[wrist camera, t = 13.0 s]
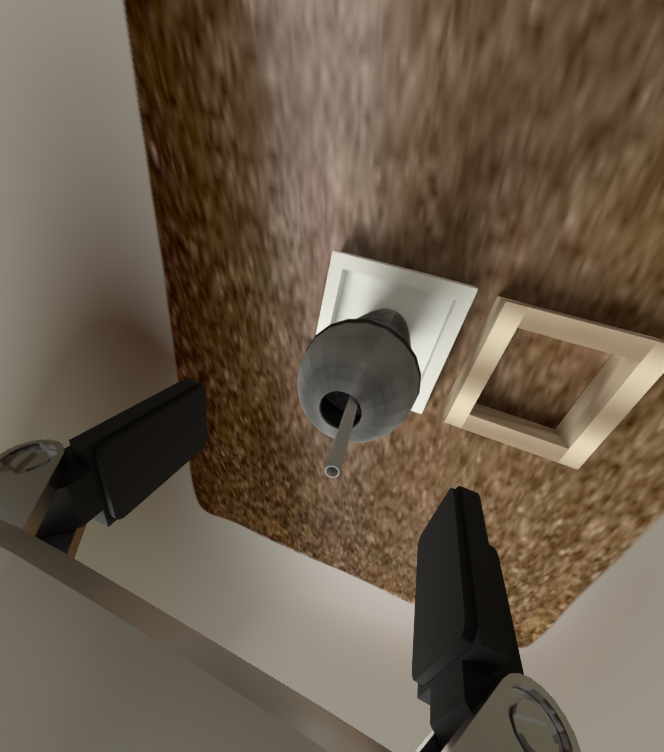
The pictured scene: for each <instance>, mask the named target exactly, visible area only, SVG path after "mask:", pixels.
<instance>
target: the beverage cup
mask: <svg viewBox="0 0 664 752" xmlns="http://www.w3.org/2000/svg"><path fill="white" fill-rule="evenodd" d="M420 382H421V372H420V368H419V364H418V360H417V357H416V355H415V353H414V352H413V350H412V349H411V341H410V333H409V329H408V325H407V322H406V321H405V319H404V318H403V316H402V315H401V314H399V313H398V312H397V311H395V310H392V309H386V308H381V309H378V310H374V311H371V312H369V313H367V314H365V315H363V316H361V317H359V318H357V319H346V320H343V321H339V322H336V323H333V324H330V325H329V326H327V327H326V328H325V329H323V330H322V331H321V332H319V333H318V334H317V335H316V336H315V337H314V339H313V340H312V342H311V343H310V345H309V346H308V348H307V350H306V353H305V354H304V356H303V358H302V360H301V363H300V368H299V372H298V376H297V386H298V396H299V400H300V402H301V405H302V407H303V410H304V412H305V414H306V415H307V416H308V418H309V419H310V420H311V421H312V423H313V424H314V425H315V426H316V427H317V428H318V429H320V430H321V431H322V432H323V433H325V434H326V435H328V436H330V437H333V438H335V440H334V443H333V446H332V449H331V452H330V455H329V458H328V461H327V464H326V466H325V474H326V475H327V476H328V477H330V478H336V477H338V476H339V475H340V471H341V468H342V464H343V460H344V456H345V453H346V449H347V445H348V442H353V443H360V442H369V441H373V440H376V439H378V438H380V437H383V436H385V435H387V434H389V433H391V432H392V431H393V430H394V429H395V428H396V427H397V426H398V425H399V424H401V423H402V422H403V421H404V420H405V418H406V417H407V415H408V413H409V411H410V410H411V409H412V407H413V405H414V403H415V401H416V399H417V397H418V395H419V392H420Z"/></svg>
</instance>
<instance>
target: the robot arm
mask: <svg viewBox="0 0 664 752" xmlns="http://www.w3.org/2000/svg"><path fill="white" fill-rule="evenodd" d="M206 440H207V436H206V390H205V389H204V387H203V384H201V383H199V382H197V381H194V380H192V379H189V378H186V379H184V380H182V381H180V382H178V383H176V384H174V385H172V386H170V387H169V388H167V389H165V390H163V391H161V392H159V393H157V394H155V395H153V396H151V397H150V398H148V399H146V400H144V401H142V402H140V403H138V404H136V405H134V406H133V407H131V408H129V409H127V410H125V411H123V412H121V413H119V414H118V415H116V416H114V417H112V418H110V419H108V420H106V421H104V422H102V423H101V424H99V425H97V426H95V427H93V428H91V429H89V430H87V431H85V432H83V433H82V434H80V435H78V436H76V437H74V438H72V439H70V440H69V442H70V446H68V447H67V448H64V446H63V444H61V443H60V442H59V441H55V440H51V439H50V440H49V439H43V440H42V439H40V440H34V441H29V442H25V443H22V444H19V445H16V446H14V447H12V448H9V449H7V450H6V451H4V452H3V453H1V454H0V752H391V751H390V750H388V749H387V748H385V747H384V746H382V745H381V744H379V743H377V742H376V741H374V740H373V739H371V738H370V737H368V736H366V735H365V734H363V733H362V732H360V731H359V730H357V729H355V728H354V727H352V726H351V725H349V724H347V723H346V722H344V721H343V720H341V719H340V718H338V717H336V716H335V715H333V714H332V713H330V712H329V711H327V710H325V709H324V708H322V707H321V706H319V705H317V704H316V703H314V702H312V701H311V700H309V699H307V698H306V697H304V696H302V695H301V694H299V693H298V692H296V691H294V690H292V689H291V688H289V687H288V686H286V685H284V684H282V683H281V682H279V681H278V680H276V679H274V678H273V677H271V676H269V675H268V674H266V673H264V672H263V671H261V670H259V669H258V668H256V667H255V666H253V665H251V664H250V663H248V662H246V661H245V660H243V659H241V658H240V657H238V656H236V655H235V654H233V653H232V652H230V651H228V650H226V649H225V648H223V647H221V646H220V645H218V644H217V643H215V642H213V641H212V640H210V639H208V638H207V637H205V636H203V635H202V634H200V633H198V632H197V631H195V630H193V629H191V628H190V627H188V626H187V625H185V624H183V623H181V622H180V621H178V620H177V619H175V618H173V617H171V616H170V615H168V614H166V613H165V612H163V611H161V610H160V609H158V608H156V607H155V606H153V605H151V604H150V603H148V602H146V601H145V600H143V599H141V598H140V597H138V596H136V595H135V594H133V593H131V592H129V591H128V590H126V589H125V588H123V587H121V586H119V585H118V584H116V583H114V582H113V581H111V580H109V579H108V578H106V577H104V576H103V575H101V574H99V573H97V572H96V571H94V570H92V569H91V568H89V567H87V566H86V565H84V564H82V563H80V562H79V561H77V560H75V559H74V557H75V555H76V552H77V549H78V546H79V544H80V541H81V538H82V535H83V532H84V530H85V527H86V524H87V523H88V522H89V521H90V520H91V519H93V518H94V517H95V519H96V520H97V521H99V522H100V523H102V524H104V525H106V526H108V527H109V526H110V525H111V524H112V523H113V522H115V521H116V520H117V519H122V518H124V517H125V516H126V515H128V513H130V512H131V511H132V510H133V509H134V508H135V507H137V506H138V505H139V504H140V503H141V502H142V501H144V500H145V499H146V498H147V497H148V496H149V495H150V494H151V493H152V492H154V491H155V490H156V489H157V488H158V487H160V486H161V485H162V484H163V483H164V482H165V481H166V480H168V479H169V478H170V477H171V476H172V475H173V474H174V473H175V472H177V471H178V470H179V469H180V468H181V467H182V466H184V464H186V463H187V462H188V461H189V460H190V459H192V458H193V457H194V456H195V455H196V454H197V453H198V452H200V451H201V450H202V449H203V448H204V446H205V444H206ZM412 676H413V680H414V681H416V682H418V699H420V700H422V701H424V702H426V703H427V704H429V705H430V725H431V727H432V729H433V730H432V731H431V732H430V734H429V735H428V736H427V737H426V739H425V740H424V741H423V742H422V743H421V745H420V746H419V747H418V748H417V750H416V751H415V752H581V750H580V748H579V745H578V742H577V739H576V736H575V733H574V732H573V730H572V728H571V726H570V724H569V722H568V720H567V718H566V716H565V715H564V713H563V712H562V710H561V709H560V708H559V706H558V704H557V703H556V702H555V700H554V699H553V698H552V697H551V696H550V695H549V694H548V692H546V690H545V689H544V688H543V687H542V686H541V685H539V684H538V683H536V682H535V681H534V680H533V679H531V678H530V677H527V676H524V673H523V668H522V663H521V659H520V654H519V649H518V645H517V640H516V635H515V631H514V626H513V621H512V617H511V612H510V607H509V603H508V598H507V594H506V589H505V584H504V580H503V575H502V570H501V566H500V561H499V557H498V554H497V551H496V550H495V548H494V547H493V546H491V545H489V542H488V537H487V532H486V526H485V521H484V516H483V511H482V506H481V500H480V496H479V494H478V493H476V492H474V491H471V490H469V489H466V488H464V487H461V486H458V487H457V488H456V489H454V488H450V489H449V491H448V492H447V494H446V496H445V497H444V499H443V500H442V502H441V504H440V505H439V507H438V509H437V510H436V512H435V513H434V515H433V517H432V518H431V520H430V521H429V523H428V525H427V526H426V528H425V529H424V531H423V533H422V534H421V536H420V539H419V542H418V554H417V575H416V596H415V618H414V638H413V659H412Z"/></svg>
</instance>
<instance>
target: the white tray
mask: <svg viewBox="0 0 664 752" xmlns="http://www.w3.org/2000/svg"><path fill="white" fill-rule="evenodd" d="M477 291H478V288H476V287H475V286H473V285H469V284H465V283H462V282H458V281H454V280H450V279H446V278H442V277H439V276H435V275H431V274H427V273H423V272H419V271H416V270H412V269H408V268H404V267H400V266H396V265H393V264H389V263H385V262H381V261H377V260H373V259H370V258H366V257H362V256H358V255H354V254H350V253H347V252H343V251H333V252H332V257H331V262H330V267H329V272H328V277H327V282H326V287H325V292H324V297H323V302H322V307H321V312H320V317H319V322H318V327H317V332H316V335H317V334H318V333H319V332H321V331H322V330H323V329H325V328H326V327H327V326H329V325H330V324H333V323H336V322H339V321H343V320H346V319H357V318H359V317H361V316H363V315H365V314H367V313H369V312H371V311H374V310H378V309H381V308H386V309H392V310H395V311H397V312H398V313H399V314H401V315H402V316H403V318H404V319H405V321H406V322H407V325H408V329H409V333H410V341H411V349H412V350H413V352H414V353H415V355H416V357H417V360H418V364H419V368H420V372H421V382H420V392H419V395H418V397H417V399H416V401H415V403H414V405H413V407H412V409H411V411H414V412H417V413H420V414H422V412H423V410H424V407H425V405H426V403H427V401H428V399H429V396H430V394H431V392H432V390H433V388H434V385H435V383H436V381H437V379H438V377H439V374H440V372H441V370H442V368H443V366H444V364H445V361H446V359H447V357H448V355H449V353H450V350H451V348H452V346H453V344H454V342H455V339H456V337H457V335H458V333H459V331H460V328H461V326H462V324H463V322H464V320H465V317H466V315H467V313H468V311H469V309H470V306H471V304H472V302H473V300H474V298H475V295H476V293H477Z"/></svg>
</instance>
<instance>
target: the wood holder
mask: <svg viewBox="0 0 664 752" xmlns="http://www.w3.org/2000/svg"><path fill="white" fill-rule="evenodd" d="M517 328H521V329H524V330H528V331H531V332H535V333H539V334H542V335H546V336H549V337H553V338H556V339H560V340H564V341H567V342H571V343H574V344H578V345H581V346H585V347H589V348H592V349H596V350H599V351H603V352H606V353H610V354H612V355H611V357H610V358H609V359H608V360H607V362H606V363H605V364H604V366H603V367H602V368H601V370H600V371H599V372H598V374H597V375H596V376H595V378H594V379H593V380H592V382H591V383H590V384H589V385H588V387H587V388H586V389H585V391H584V392H583V393H582V395H581V396H580V397H579V399H578V400H577V401H576V403H575V404H574V405H573V406H572V408H571V409H570V410H569V412H568V413H567V414H566V416H565V417H564V418H563V420H562V421H561V422H560V424H559V425H558V426H557V427H556V429H552V428H549V427H546V426H543V425H540V424H537V423H534V422H531V421H528V420H525V419H522V418H519V417H516V416H513V415H510V414H507V413H504V412H502V411H499V410H496V409H493V408H490V407H487V406H484V405H481V404H478V403H476V401H477V399H478V397H479V396H480V394H481V392H482V390H483V388H484V387H485V385H486V383H487V381H488V380H489V378H490V376H491V374H492V372H493V371H494V369H495V367H496V365H497V363H498V362H499V360H500V358H501V356H502V354H503V353H504V351H505V349H506V347H507V345H508V344H509V342H510V340H511V338H512V336H513V335H514V333H515V331H516V329H517ZM663 373H664V341H663V340H660V339H658V338H655V337H652V336H648V335H644V334H640V333H637V332H633V331H629V330H625V329H621V328H618V327H614V326H610V325H606V324H602V323H599V322H595V321H591V320H587V319H583V318H580V317H576V316H572V315H568V314H564V313H561V312H557V311H553V310H549V309H545V308H542V307H538V306H534V305H530V304H526V303H523V302H519V301H515V300H511V299H507V298H504V297H500V296H497V298H496V300H495V302H494V304H493V306H492V308H491V310H490V312H489V314H488V316H487V318H486V320H485V322H484V324H483V326H482V328H481V330H480V332H479V334H478V336H477V339H476V341H475V343H474V345H473V347H472V349H471V351H470V353H469V355H468V357H467V359H466V361H465V363H464V365H463V367H462V369H461V371H460V373H459V375H458V377H457V379H456V381H455V383H454V385H453V387H452V389H451V391H450V393H449V395H448V397H447V399H446V401H445V403H444V405H443V413H444V422H446V423H448V424H451V425H454V426H457V427H460V428H462V429H465V430H468V431H471V432H474V433H476V434H479V435H482V436H485V437H488V438H491V439H493V440H496V441H499V442H502V443H505V444H507V445H510V446H513V447H516V448H519V449H521V450H524V451H527V452H530V453H533V454H536V455H538V456H541V457H544V458H547V459H550V460H552V461H555V462H558V463H561V464H564V465H566V466H569V467H572V468H575V469H579V467H580V466H581V465H582V464H583V463H584V462H585V461H586V460H587V458H588V457H589V456H590V455H591V454H592V453H593V452H594V451H595V449H596V448H597V447H598V446H599V445H600V444H601V443H602V442H603V440H604V439H605V438H606V437H607V436H608V435H609V434H610V433H611V431H612V430H613V429H614V428H615V427H616V426H617V425H618V424H619V422H620V421H621V420H622V419H623V418H624V417H625V416H626V415H627V413H628V412H629V411H630V410H631V409H632V408H633V407H634V406H635V404H636V403H637V402H638V401H639V400H640V399H641V398H642V397H643V395H644V394H645V393H646V392H647V391H648V390H649V389H650V388H651V386H652V385H653V384H654V383H655V382H656V381H657V380H658V379H659V377H660V376H661V375H662V374H663Z"/></svg>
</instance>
